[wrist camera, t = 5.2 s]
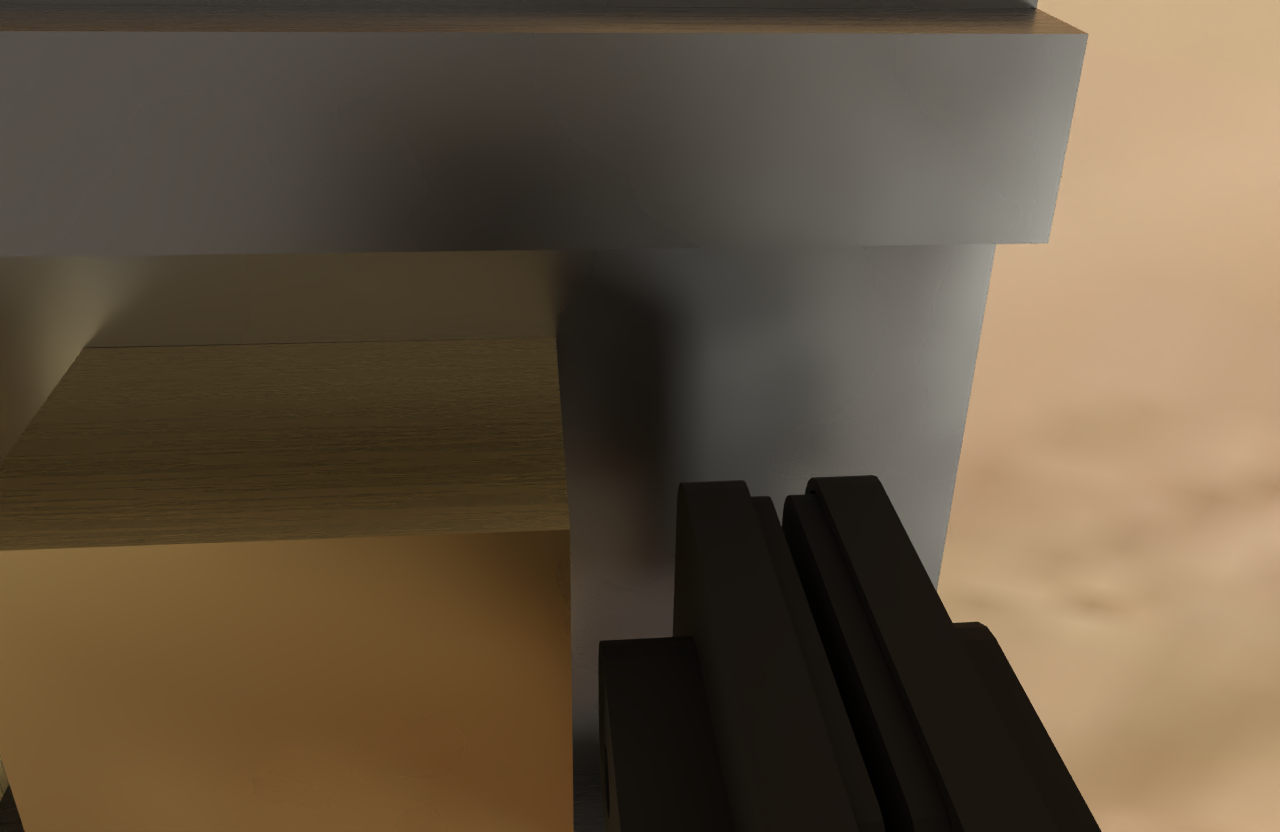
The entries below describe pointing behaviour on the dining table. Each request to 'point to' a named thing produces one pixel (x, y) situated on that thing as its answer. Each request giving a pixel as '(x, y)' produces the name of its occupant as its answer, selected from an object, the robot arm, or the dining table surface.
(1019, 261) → the dining table surface
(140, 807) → the tan wooden cube
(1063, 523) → the dining table surface
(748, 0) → the grey block holder
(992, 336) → the dining table surface
